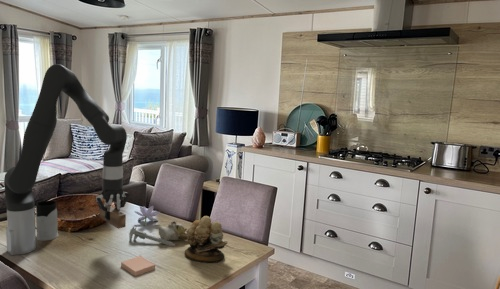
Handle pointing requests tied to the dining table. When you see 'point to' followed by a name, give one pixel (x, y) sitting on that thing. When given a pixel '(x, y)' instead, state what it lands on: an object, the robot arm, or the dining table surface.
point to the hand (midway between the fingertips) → (112, 218)
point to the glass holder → (46, 220)
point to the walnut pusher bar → (115, 218)
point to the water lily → (147, 214)
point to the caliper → (144, 235)
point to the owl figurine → (205, 241)
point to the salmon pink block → (138, 265)
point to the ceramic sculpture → (173, 232)
